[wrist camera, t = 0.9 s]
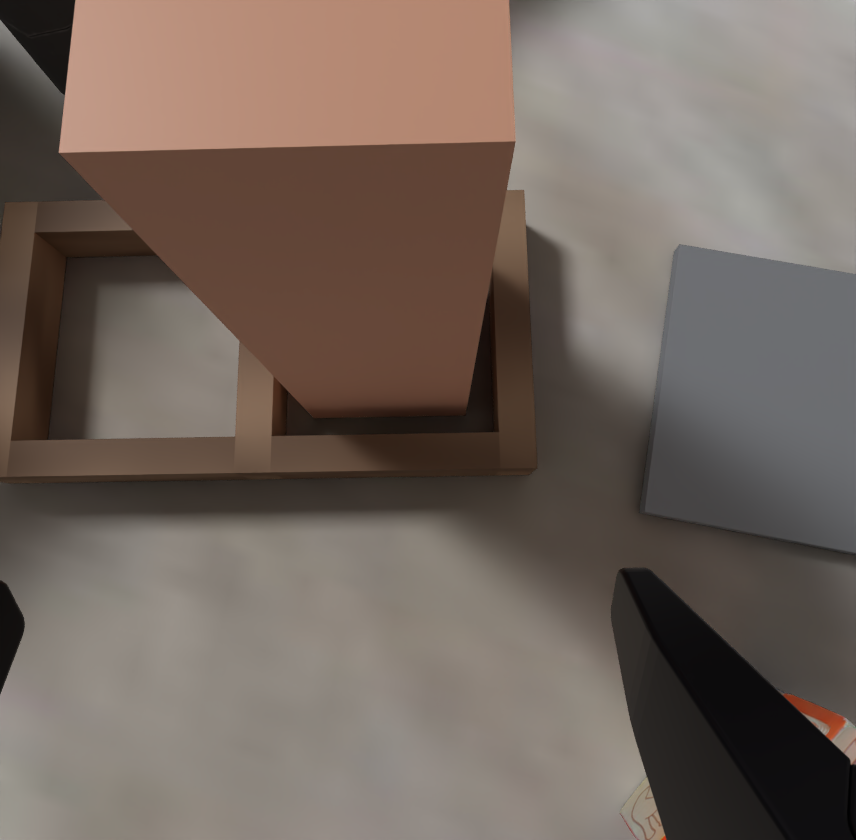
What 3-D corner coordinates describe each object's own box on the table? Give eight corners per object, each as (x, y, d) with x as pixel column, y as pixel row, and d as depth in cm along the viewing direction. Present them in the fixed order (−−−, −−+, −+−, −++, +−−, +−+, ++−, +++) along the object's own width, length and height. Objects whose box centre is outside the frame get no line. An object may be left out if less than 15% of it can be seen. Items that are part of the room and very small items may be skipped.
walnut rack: (529, 475, 23) (537, 468, 21) (10, 483, 23) (-30, 477, 21) (517, 218, 25) (524, 190, 23) (39, 229, 25) (5, 202, 23)
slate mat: (932, 570, 22) (946, 570, 21) (639, 512, 23) (644, 511, 22) (945, 297, 24) (957, 291, 23) (674, 251, 24) (679, 244, 24)
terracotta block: (465, 415, 23) (515, 141, 8) (314, 418, 23) (58, 152, 8) (461, 273, 24) (499, -220, 9) (317, 276, 25) (98, -207, 9)
